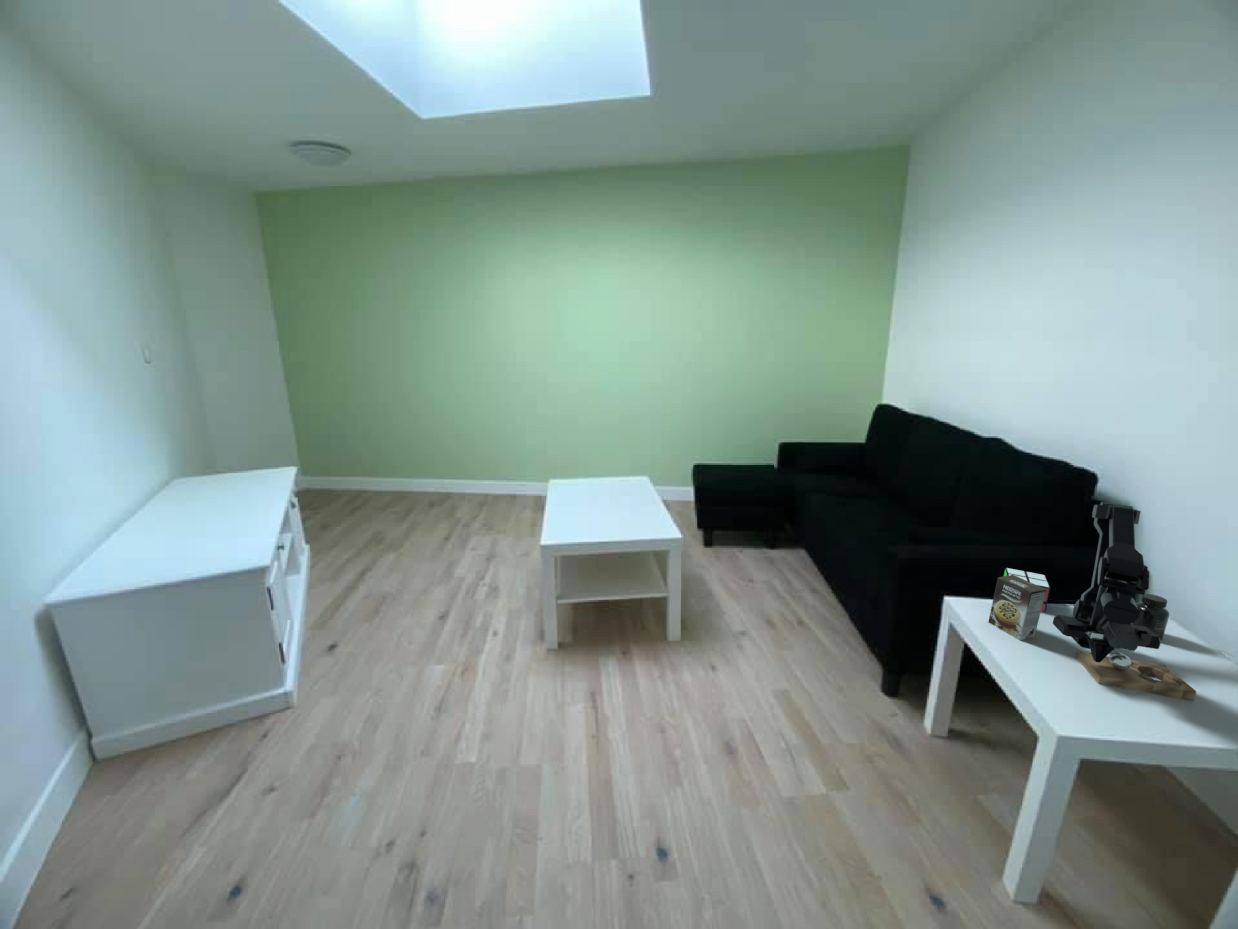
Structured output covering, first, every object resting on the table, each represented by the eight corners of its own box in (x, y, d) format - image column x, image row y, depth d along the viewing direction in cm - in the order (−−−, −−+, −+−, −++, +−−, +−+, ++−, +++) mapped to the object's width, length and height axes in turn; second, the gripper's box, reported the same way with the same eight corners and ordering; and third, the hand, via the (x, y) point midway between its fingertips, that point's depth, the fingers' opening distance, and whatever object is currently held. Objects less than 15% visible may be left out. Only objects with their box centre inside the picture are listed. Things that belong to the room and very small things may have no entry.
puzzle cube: (1044, 618, 149) (1051, 588, 147) (1002, 609, 154) (1008, 579, 152) (1038, 603, 157) (1045, 574, 155) (999, 595, 162) (1005, 567, 160)
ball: (1113, 671, 121) (1117, 657, 120) (1103, 661, 125) (1106, 647, 124) (1133, 674, 120) (1137, 660, 119) (1122, 664, 124) (1126, 650, 123)
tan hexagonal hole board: (1097, 685, 120) (1100, 676, 120) (1074, 660, 129) (1076, 652, 129) (1193, 700, 115) (1196, 691, 114) (1162, 673, 124) (1164, 664, 124)
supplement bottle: (1156, 634, 141) (1168, 595, 138) (1165, 646, 135) (1178, 606, 132) (1123, 626, 145) (1134, 589, 142) (1131, 638, 139) (1142, 599, 136)
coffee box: (985, 627, 144) (996, 576, 140) (1001, 623, 146) (1012, 573, 142) (1018, 645, 136) (1030, 592, 132) (1035, 641, 138) (1047, 588, 134)
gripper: (1083, 616, 115) (1068, 674, 119) (1187, 630, 110) (1167, 690, 113) (1058, 593, 125) (1045, 647, 129) (1152, 604, 120) (1135, 661, 124)
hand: (1096, 661), depth 124 cm, fingers closed
